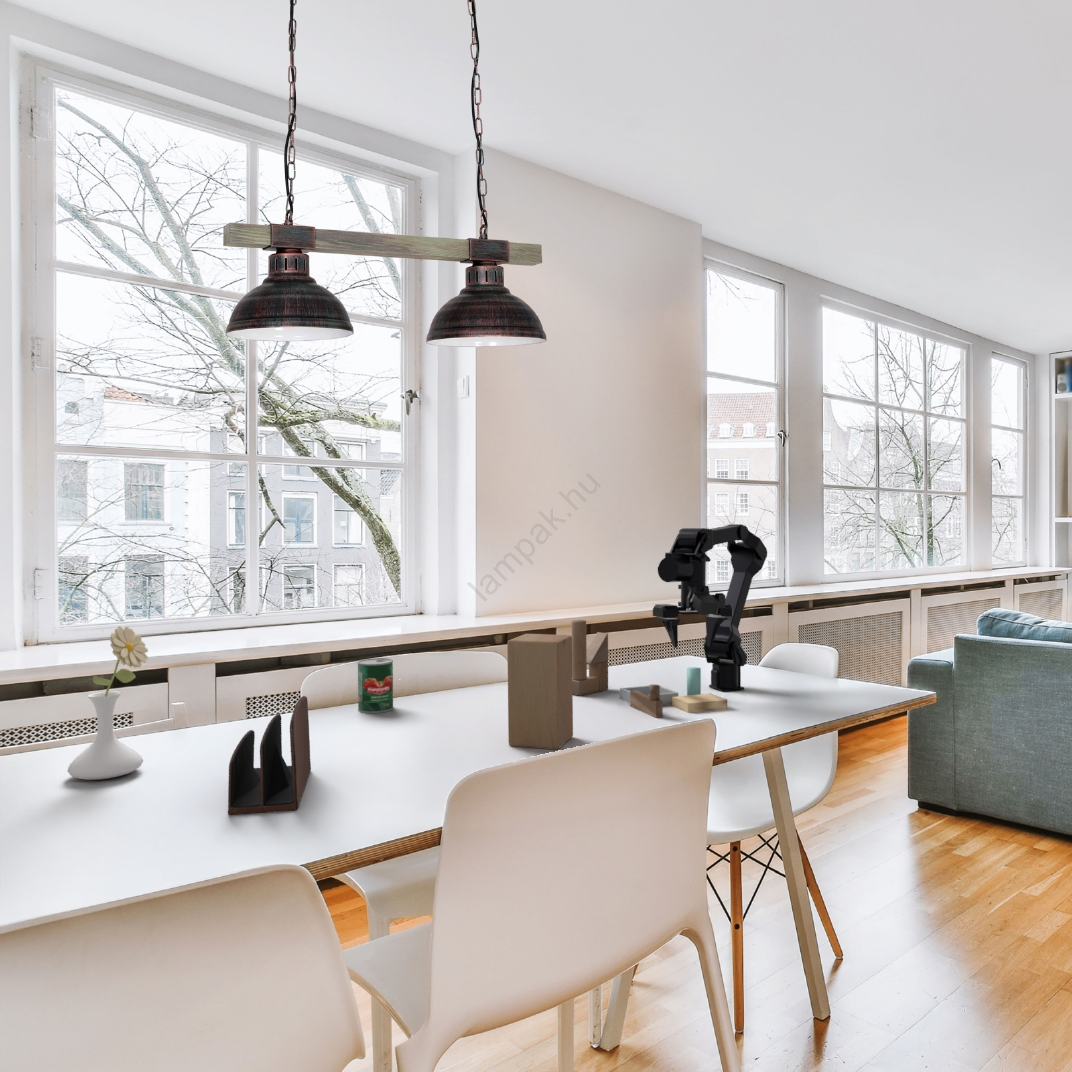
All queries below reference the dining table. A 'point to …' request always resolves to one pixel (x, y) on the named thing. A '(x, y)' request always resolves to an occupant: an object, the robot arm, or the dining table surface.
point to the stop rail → (648, 701)
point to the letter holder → (271, 768)
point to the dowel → (693, 681)
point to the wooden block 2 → (588, 660)
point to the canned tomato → (375, 685)
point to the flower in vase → (111, 717)
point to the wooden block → (540, 691)
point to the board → (699, 703)
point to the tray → (664, 693)
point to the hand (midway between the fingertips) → (692, 647)
